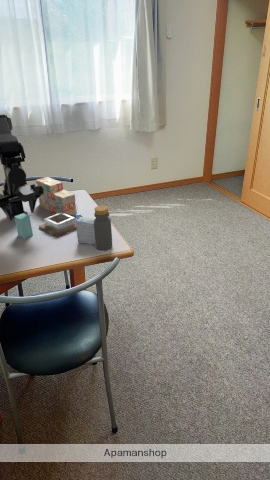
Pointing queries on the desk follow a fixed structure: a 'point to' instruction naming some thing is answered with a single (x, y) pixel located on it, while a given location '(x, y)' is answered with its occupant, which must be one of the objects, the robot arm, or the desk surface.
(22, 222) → the teal block
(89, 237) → the medicine box
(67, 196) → the stack of blocks
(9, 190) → the robot arm
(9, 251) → the desk surface
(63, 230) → the base board
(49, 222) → the frame
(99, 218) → the bottle
